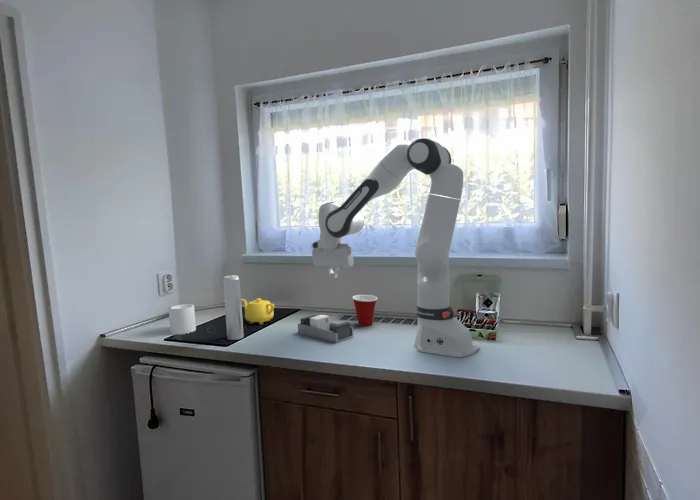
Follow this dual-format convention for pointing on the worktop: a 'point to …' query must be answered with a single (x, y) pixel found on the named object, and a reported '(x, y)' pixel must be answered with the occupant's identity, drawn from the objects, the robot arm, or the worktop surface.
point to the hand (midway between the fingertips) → (333, 277)
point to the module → (320, 322)
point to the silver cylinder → (233, 307)
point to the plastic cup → (365, 308)
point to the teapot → (258, 311)
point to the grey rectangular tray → (334, 335)
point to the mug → (182, 319)
